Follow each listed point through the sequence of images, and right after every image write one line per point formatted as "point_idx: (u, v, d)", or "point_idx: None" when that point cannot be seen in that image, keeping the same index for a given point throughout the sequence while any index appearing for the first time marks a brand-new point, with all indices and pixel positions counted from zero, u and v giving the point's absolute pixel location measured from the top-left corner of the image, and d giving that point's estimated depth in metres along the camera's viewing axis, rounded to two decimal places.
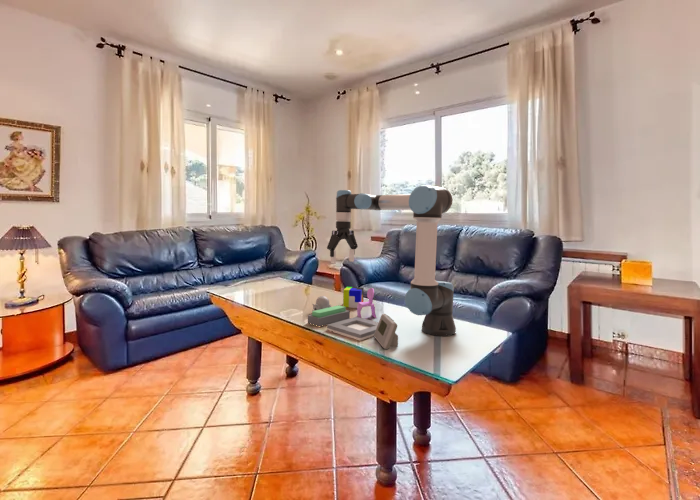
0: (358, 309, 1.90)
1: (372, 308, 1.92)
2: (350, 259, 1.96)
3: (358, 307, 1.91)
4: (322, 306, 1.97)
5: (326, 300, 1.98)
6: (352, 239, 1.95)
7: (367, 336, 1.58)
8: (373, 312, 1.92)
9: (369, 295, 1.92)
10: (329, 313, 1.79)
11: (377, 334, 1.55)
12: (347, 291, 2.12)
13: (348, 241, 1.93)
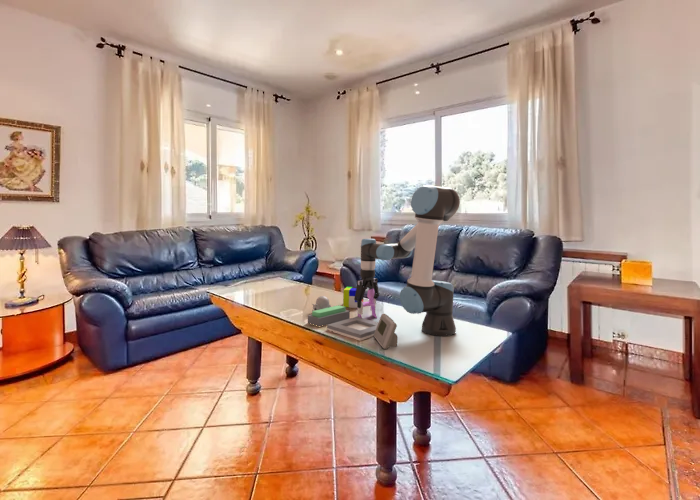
0: None
1: (372, 308, 1.93)
2: None
3: None
4: (322, 306, 1.97)
5: (326, 300, 1.98)
6: (375, 287, 1.95)
7: (367, 336, 1.58)
8: (373, 312, 1.92)
9: (369, 295, 1.92)
10: (329, 313, 1.79)
11: (377, 334, 1.55)
12: (347, 291, 2.12)
13: None
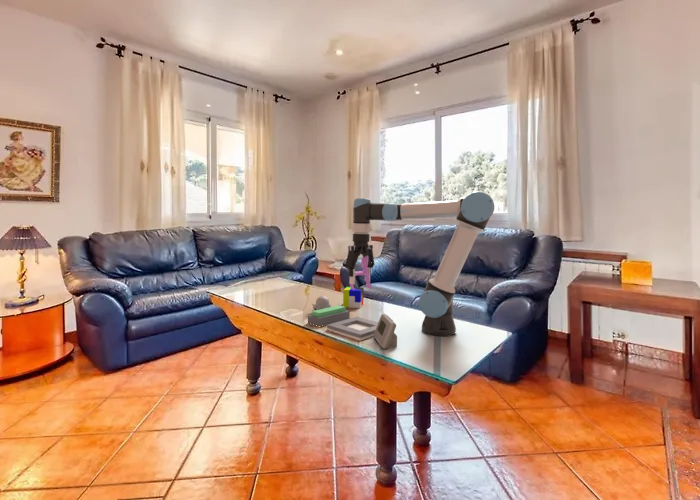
0: None
1: (366, 278, 1.70)
2: None
3: None
4: (322, 306, 1.97)
5: (326, 300, 1.98)
6: (369, 255, 1.72)
7: (367, 336, 1.58)
8: (368, 282, 1.70)
9: (363, 263, 1.70)
10: (329, 313, 1.79)
11: (376, 334, 1.55)
12: (347, 291, 2.12)
13: None
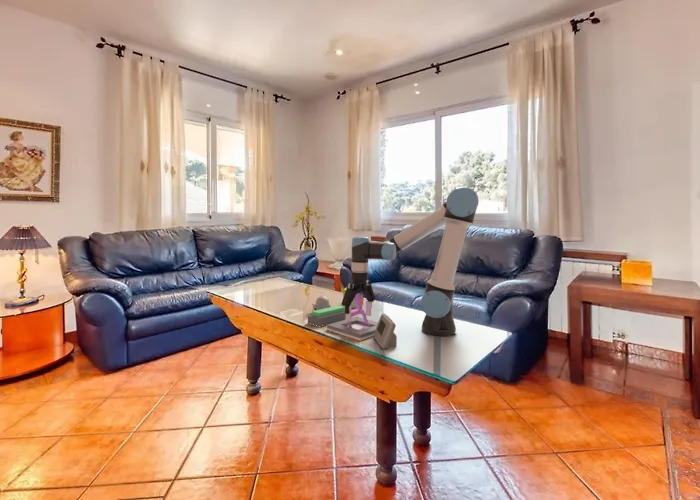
0: None
1: (363, 315, 1.70)
2: (367, 313, 1.73)
3: None
4: (322, 306, 1.97)
5: (326, 300, 1.98)
6: (369, 290, 1.72)
7: (367, 336, 1.58)
8: (365, 319, 1.69)
9: (357, 301, 1.69)
10: (329, 313, 1.79)
11: (376, 334, 1.55)
12: None
13: (365, 293, 1.70)
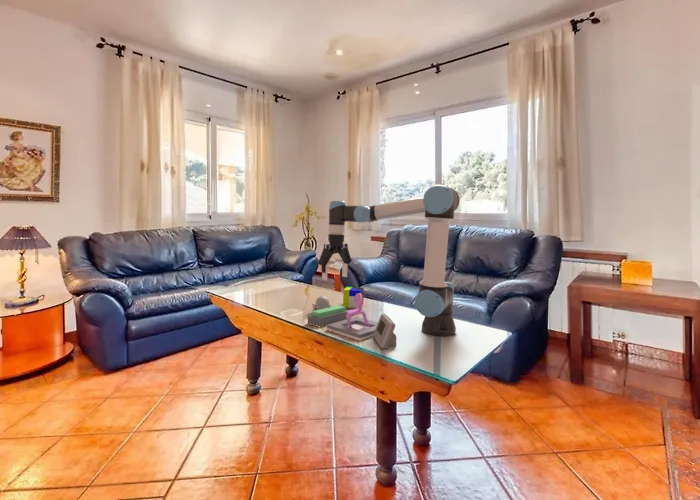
0: (347, 319, 1.68)
1: (363, 315, 1.70)
2: (343, 274, 1.83)
3: (347, 317, 1.68)
4: (322, 306, 1.97)
5: (326, 300, 1.98)
6: (346, 253, 1.82)
7: (367, 336, 1.58)
8: (365, 319, 1.69)
9: (357, 301, 1.69)
10: (329, 313, 1.79)
11: (376, 334, 1.55)
12: (347, 291, 2.12)
13: (341, 255, 1.80)
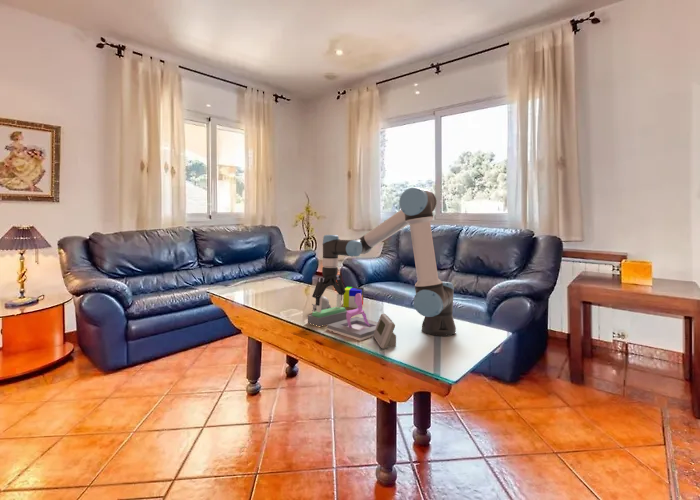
0: (347, 319, 1.68)
1: (363, 315, 1.70)
2: (337, 305, 1.88)
3: (347, 317, 1.68)
4: (322, 306, 1.97)
5: (326, 300, 1.98)
6: (339, 284, 1.87)
7: (367, 336, 1.58)
8: (365, 319, 1.69)
9: (357, 301, 1.69)
10: (329, 314, 1.79)
11: (376, 334, 1.55)
12: (347, 291, 2.12)
13: (335, 287, 1.85)
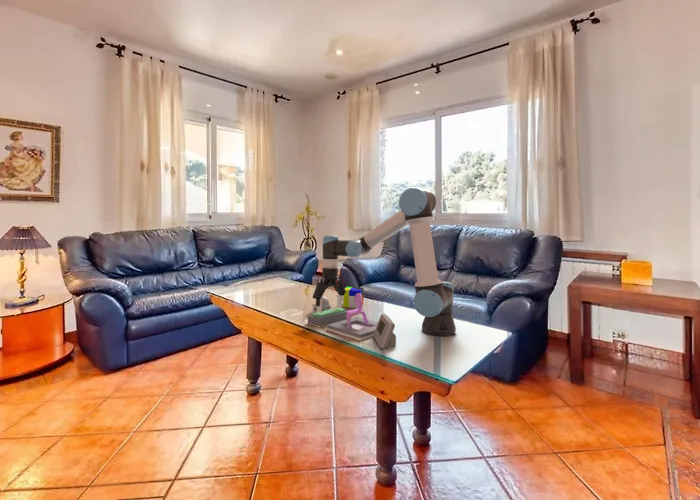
0: (347, 319, 1.68)
1: (363, 315, 1.70)
2: (338, 306, 1.88)
3: (347, 317, 1.68)
4: (322, 306, 1.97)
5: (326, 300, 1.98)
6: (340, 285, 1.87)
7: (367, 336, 1.58)
8: (365, 319, 1.69)
9: (357, 301, 1.69)
10: None
11: (376, 334, 1.55)
12: (347, 291, 2.12)
13: (335, 287, 1.85)
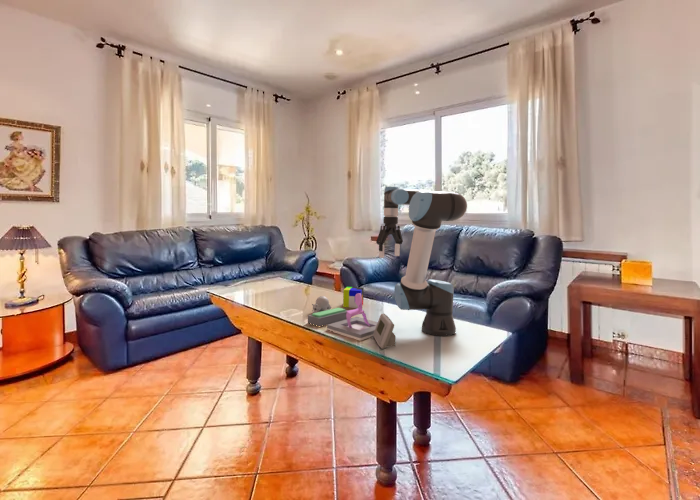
0: (347, 319, 1.68)
1: (363, 315, 1.70)
2: (396, 254, 2.02)
3: (347, 317, 1.68)
4: (322, 306, 1.97)
5: (326, 300, 1.97)
6: (398, 234, 2.01)
7: (367, 336, 1.58)
8: (365, 319, 1.69)
9: (357, 301, 1.69)
10: None
11: (375, 334, 1.55)
12: (347, 291, 2.12)
13: (394, 236, 1.99)
